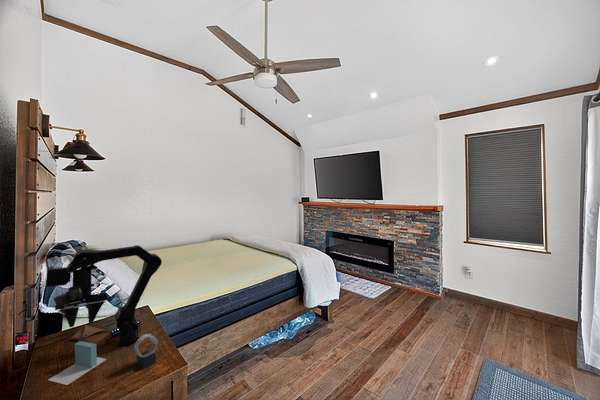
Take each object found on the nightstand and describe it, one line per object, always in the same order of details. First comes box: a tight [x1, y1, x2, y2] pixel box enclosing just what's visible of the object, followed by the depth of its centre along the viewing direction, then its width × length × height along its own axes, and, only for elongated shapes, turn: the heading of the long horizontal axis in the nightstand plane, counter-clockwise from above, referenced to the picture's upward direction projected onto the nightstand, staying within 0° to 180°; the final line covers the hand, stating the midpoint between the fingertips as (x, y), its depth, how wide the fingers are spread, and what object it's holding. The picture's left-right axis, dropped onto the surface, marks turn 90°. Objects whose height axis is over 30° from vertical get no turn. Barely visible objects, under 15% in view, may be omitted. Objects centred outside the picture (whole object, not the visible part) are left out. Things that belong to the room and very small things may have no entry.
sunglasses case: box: [68, 324, 115, 346], centre depth 117 cm, size 18×7×7 cm, turn 73°
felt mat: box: [48, 356, 107, 386], centre depth 97 cm, size 14×9×1 cm, turn 166°
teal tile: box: [74, 341, 98, 369], centre depth 99 cm, size 2×8×8 cm, turn 76°
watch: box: [133, 333, 159, 370], centre depth 101 cm, size 6×8×11 cm
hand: (81, 325), depth 99 cm, fingers open, 9 cm apart
